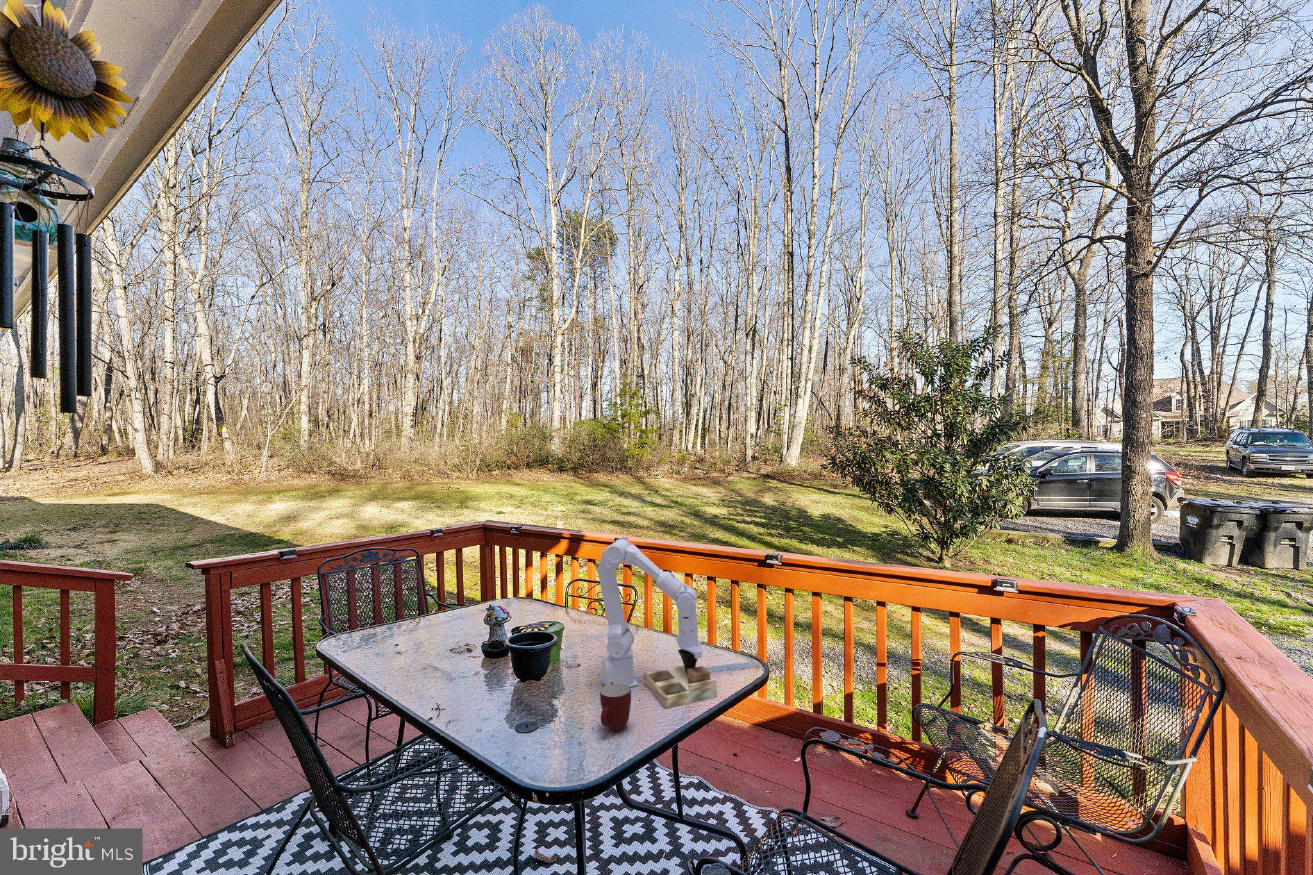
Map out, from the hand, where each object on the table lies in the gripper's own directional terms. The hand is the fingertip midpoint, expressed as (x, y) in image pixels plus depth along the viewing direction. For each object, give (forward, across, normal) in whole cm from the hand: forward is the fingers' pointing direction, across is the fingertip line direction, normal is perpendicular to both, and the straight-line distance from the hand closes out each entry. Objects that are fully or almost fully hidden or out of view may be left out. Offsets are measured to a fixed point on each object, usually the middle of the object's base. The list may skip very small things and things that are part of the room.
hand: (690, 673), depth 171 cm
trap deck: (+4, 0, +4) cm, 6 cm away
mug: (+4, -15, +28) cm, 32 cm away
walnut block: (+1, -6, 0) cm, 6 cm away
